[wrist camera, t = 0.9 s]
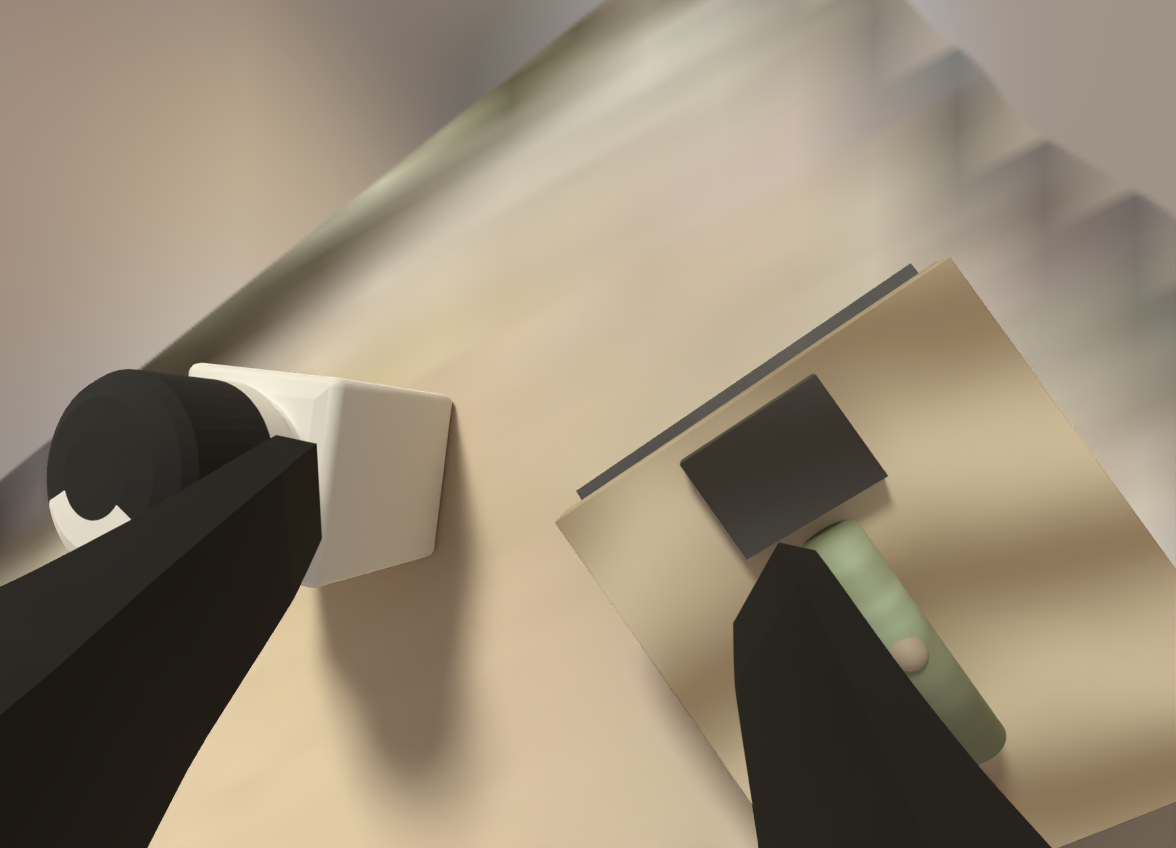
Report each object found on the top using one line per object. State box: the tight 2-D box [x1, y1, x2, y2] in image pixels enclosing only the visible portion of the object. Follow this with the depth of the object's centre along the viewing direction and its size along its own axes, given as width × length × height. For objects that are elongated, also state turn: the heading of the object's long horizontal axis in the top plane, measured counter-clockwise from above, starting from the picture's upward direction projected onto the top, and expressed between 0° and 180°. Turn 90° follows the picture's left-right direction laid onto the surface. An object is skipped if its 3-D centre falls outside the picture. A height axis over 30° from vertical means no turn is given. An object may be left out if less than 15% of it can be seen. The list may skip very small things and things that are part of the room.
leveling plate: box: [555, 257, 1176, 848], centre depth 15 cm, size 14×12×3 cm
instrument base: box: [577, 264, 918, 500], centre depth 20 cm, size 15×13×3 cm
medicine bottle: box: [47, 363, 452, 588], centre depth 22 cm, size 7×7×12 cm
